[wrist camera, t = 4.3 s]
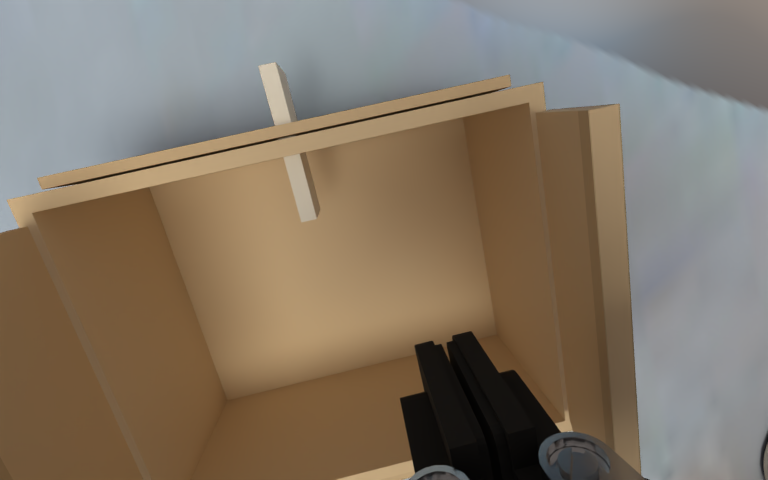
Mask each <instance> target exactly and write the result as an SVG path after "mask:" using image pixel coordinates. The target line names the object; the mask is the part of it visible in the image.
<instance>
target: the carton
mask: <svg viewBox="0 0 768 480" xmlns="http://www.w3.org/2000/svg"><path fill="white" fill-rule="evenodd" d="M258 67H259V70H260V74H261V78H262V81H263V85H264V88H265V92H266V96H267V99H268V103H269V107H270V110H271V114H272V118H273V121H274V125H275V126H273V127H268V128H264V129H259V130H254V131H250V132H245V133H241V134H236V135H232V136H227V137H222V138H218V139H213V140H209V141H204V142H200V143H195V144H190V145H186V146H181V147H177V148H172V149H168V150H163V151H158V152H154V153H149V154H145V155H140V156H136V157H131V158H127V159H122V160H117V161H113V162H108V163H104V164H99V165H95V166H90V167H85V168H81V169H76V170H72V171H67V172H63V173H58V174H53V175H49V176H44V177H40V178H37V179H38V181H39V184H40V186H41V188H42V189H48V188H55V187H62V186H68V185H72V186H68V187H63V188H59V189H54V190H50V191H45V192H41V193H36V194H32V195H27V196H23V197H18V198H13V199H9V200H7V202H8V204H9V206H10V208H11V211H12V213H13V215H14V217H15V219H16V221H17V224H18V226H19V228H22V227H27V226H28V228H29V231H30V233H31V235H32V237H33V239H34V242H35V244H36V246H37V248H38V250H39V252H40V255H41V257H42V259H43V261H44V263H45V266H46V268H47V270H48V272H49V274H50V276H51V279H52V281H53V283H54V285H55V287H56V290H57V292H58V294H59V296H60V298H61V300H62V303H63V305H64V307H65V309H66V311H67V314H68V316H69V318H70V320H71V322H72V324H73V327H74V329H75V331H76V333H77V335H78V338H79V340H80V342H81V344H82V346H83V348H84V351H85V353H86V355H87V357H88V359H89V362H90V364H91V366H92V368H93V370H94V373H95V375H96V377H97V379H98V381H99V383H100V386H101V388H102V390H103V392H104V394H105V397H106V399H107V401H108V403H109V405H110V407H111V410H112V412H113V414H114V416H115V418H116V421H117V423H118V425H119V427H120V429H121V431H122V434H123V436H124V438H125V440H126V442H127V445H128V447H129V449H130V451H131V453H132V455H133V458H134V460H135V462H136V464H137V466H138V469H139V471H140V473H141V475H142V477H143V479H144V480H403V479H407V478H410V477H412V476H413V475H414V474H415V471H414V466H413V461H412V456H411V451H410V447H409V442H408V437H407V432H406V427H405V422H404V417H403V412H402V407H401V403H400V398H401V397H405V396H409V395H413V394H417V393H421V392H424V387H423V383H422V378H421V374H420V370H419V365H418V361H417V356H416V352H415V347H414V345H416V344H420V343H424V342H428V341H433V342H434V344H435V345H438V344H442V346H443V348H444V350H445V353H446V355H447V357H448V359H449V354H448V349H447V342H450V341H452V336H453V335H457V334H461V333H465V332H469V331H471V332H472V333H473V334H474V336H475V337H476V339H477V340H478V342H479V343H480V345H481V346H482V348H483V349H484V351H485V352H486V354H487V355H488V357H489V358H490V360H491V361H492V363H493V364H494V366H495V367H496V369H497V370H498V372H499V373H501V372H505V371H509V370H515V371H516V372H517V373H518V375H519V376H520V377H521V379H522V380H523V381H524V383H525V384H526V385H527V387H528V388H529V390H530V391H531V392H532V394H533V395H534V396H535V398H536V399H537V400H538V402H539V403H540V404H541V406H542V407H543V408H544V410H545V411H546V412H547V414H548V415H549V416H550V418H551V419H552V420H553V422H554V423H555V425H556V426H557V427H558V429H559V430H560V431H561V433H562V432H568V431H572V430H573V429H572V426H571V423H570V419H569V410H568V401H567V392H566V383H565V374H564V365H563V356H562V347H561V338H560V329H559V320H558V311H557V302H556V292H555V283H554V274H553V265H552V256H551V247H550V238H549V229H548V220H547V211H546V202H545V193H544V184H543V175H542V166H541V157H540V148H539V139H538V130H537V121H536V113H537V112H542V111H546V105H545V96H544V86H543V82H540V83H535V84H531V85H526V86H522V87H517V88H512V89H508V90H503V91H499V90H502V89H504V88H507V87H510V86H511V80H510V75H506V76H501V77H496V78H492V79H487V80H483V81H478V82H474V83H469V84H464V85H460V86H455V87H451V88H446V89H442V90H437V91H433V92H428V93H423V94H419V95H414V96H410V97H405V98H401V99H396V100H391V101H387V102H382V103H378V104H373V105H369V106H364V107H359V108H355V109H350V110H346V111H341V112H337V113H332V114H327V115H323V116H318V117H314V118H309V119H305V120H300V121H297V117H296V113H295V109H294V105H293V101H292V97H291V94H290V90H289V86H288V82H287V78H286V74H285V73H284V71H283V70H282V69H281V68H280V67H279V66H278V65H277V63H276V62H274V63H269V64H265V65H260V66H258ZM496 91H499V92H496ZM493 92H494V93H493ZM75 184H77V185H75ZM449 361H450V359H449Z"/></svg>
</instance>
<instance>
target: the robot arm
mask: <svg viewBox="0 0 768 480" xmlns="http://www.w3.org/2000/svg"><path fill="white" fill-rule="evenodd" d="M414 347H415V352H416V356H417V361H418V365H419V370H420V374H421V378H422V383H423V387H424V392H421V393H417V394H413V395H409V396H405V397H401V398H400V403H401V407H402V412H403V417H404V422H405V427H406V432H407V437H408V442H409V447H410V451H411V456H412V461H413V466H414V471H415V474H414V475H413V476H412V477H411V478H410V479H409V480H648V479H646V478H644V477H642V476H641V475H640V474H639V473H638V472H637V471H636V470H635V469H634V468H632V467H631V466H630V465H629V464H628V463H627V462H626V461H625V460H623V459H622V458H621V457H620V456H619V455H618V454H617V453H616V452H615V451H613V450H612V449H611V448H610V447H609V446H608V445H606V444H605V443H603V442H602V441H601V440H599V439H597V438H595V437H593V436H590V435H588V434H584V433H579V432H562V433H561V431H560V430H559V429H558V427H557V426H556V425H555V423H554V422H553V420H552V419H551V418H550V416H549V415H548V414H547V412H546V411H545V410H544V408H543V407H542V406H541V404H540V403H539V402H538V400H537V399H536V398H535V396H534V395H533V394H532V392H531V391H530V390H529V388H528V387H527V385H526V384H525V383H524V381H523V380H522V379H521V377H520V376H519V375H518V373H517V372H516V371H515V370H509V371H505V372H501V373H499V372H498V370H497V369H496V367H495V366H494V364H493V363H492V361H491V360H490V358H489V357H488V355H487V354H486V352H485V351H484V349H483V348H482V346H481V345H480V343H479V342H478V340H477V339H476V337H475V336H474V334H473V333H472V332H471V331H469V332H465V333H461V334H457V335H453V336H452V341H450V342H447V349H448V354H449V359H450V361H449V359H448V357H447V355H446V353H445V350H444V348H443V346H442V344H438V345H435V344H434V342H433V341H428V342H424V343H420V344H416V345H414ZM763 467H764V475H765V479H766V480H768V443H767V446H766V449H765V453H764V462H763Z"/></svg>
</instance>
